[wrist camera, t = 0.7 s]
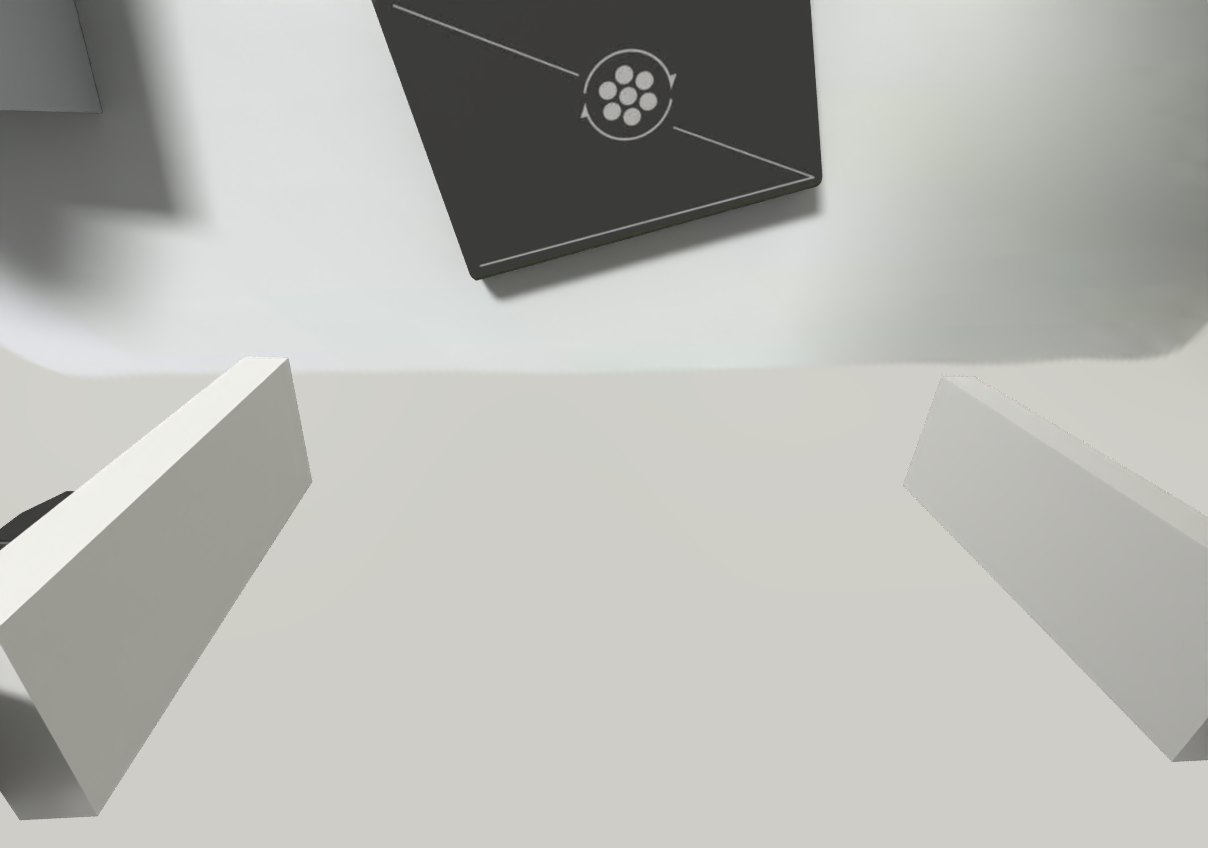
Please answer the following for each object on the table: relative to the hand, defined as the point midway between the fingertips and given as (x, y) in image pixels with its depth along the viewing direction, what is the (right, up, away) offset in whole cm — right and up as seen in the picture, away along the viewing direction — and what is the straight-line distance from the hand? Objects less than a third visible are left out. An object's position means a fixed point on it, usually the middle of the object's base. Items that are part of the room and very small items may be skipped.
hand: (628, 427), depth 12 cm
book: (0, +19, +22) cm, 29 cm away
